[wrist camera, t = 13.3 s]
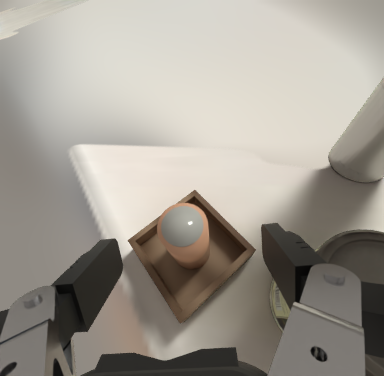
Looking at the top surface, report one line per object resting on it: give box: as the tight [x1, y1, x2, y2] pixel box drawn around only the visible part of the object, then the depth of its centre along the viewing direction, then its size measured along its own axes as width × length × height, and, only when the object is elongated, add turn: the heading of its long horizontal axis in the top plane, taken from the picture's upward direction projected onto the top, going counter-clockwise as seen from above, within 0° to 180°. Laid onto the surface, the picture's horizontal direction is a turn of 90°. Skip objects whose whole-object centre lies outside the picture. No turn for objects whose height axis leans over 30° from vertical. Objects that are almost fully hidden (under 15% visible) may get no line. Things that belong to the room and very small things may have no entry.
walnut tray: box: [128, 190, 256, 323], centre depth 29 cm, size 13×13×4 cm
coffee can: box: [270, 230, 384, 376], centre depth 19 cm, size 10×10×14 cm
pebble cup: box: [157, 203, 210, 270], centre depth 25 cm, size 6×6×10 cm
